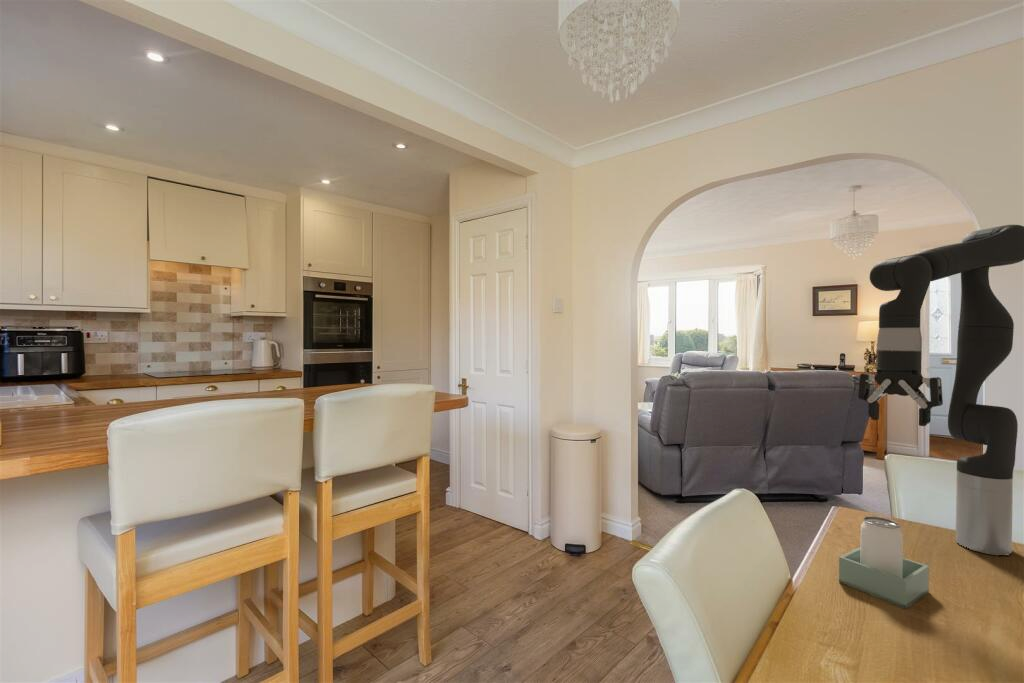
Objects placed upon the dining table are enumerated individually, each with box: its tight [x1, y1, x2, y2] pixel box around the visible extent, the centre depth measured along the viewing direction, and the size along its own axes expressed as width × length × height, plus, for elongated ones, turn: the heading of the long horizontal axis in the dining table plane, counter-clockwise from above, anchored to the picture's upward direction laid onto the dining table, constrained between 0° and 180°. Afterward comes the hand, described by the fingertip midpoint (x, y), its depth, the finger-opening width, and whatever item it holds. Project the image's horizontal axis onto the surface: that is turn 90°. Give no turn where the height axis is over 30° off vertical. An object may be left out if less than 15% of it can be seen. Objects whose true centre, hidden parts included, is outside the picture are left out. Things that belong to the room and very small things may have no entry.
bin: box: [838, 546, 930, 609], centre depth 91 cm, size 11×11×5 cm
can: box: [859, 516, 904, 578], centre depth 91 cm, size 6×6×12 cm
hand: (897, 422), depth 102 cm, fingers open, 8 cm apart
